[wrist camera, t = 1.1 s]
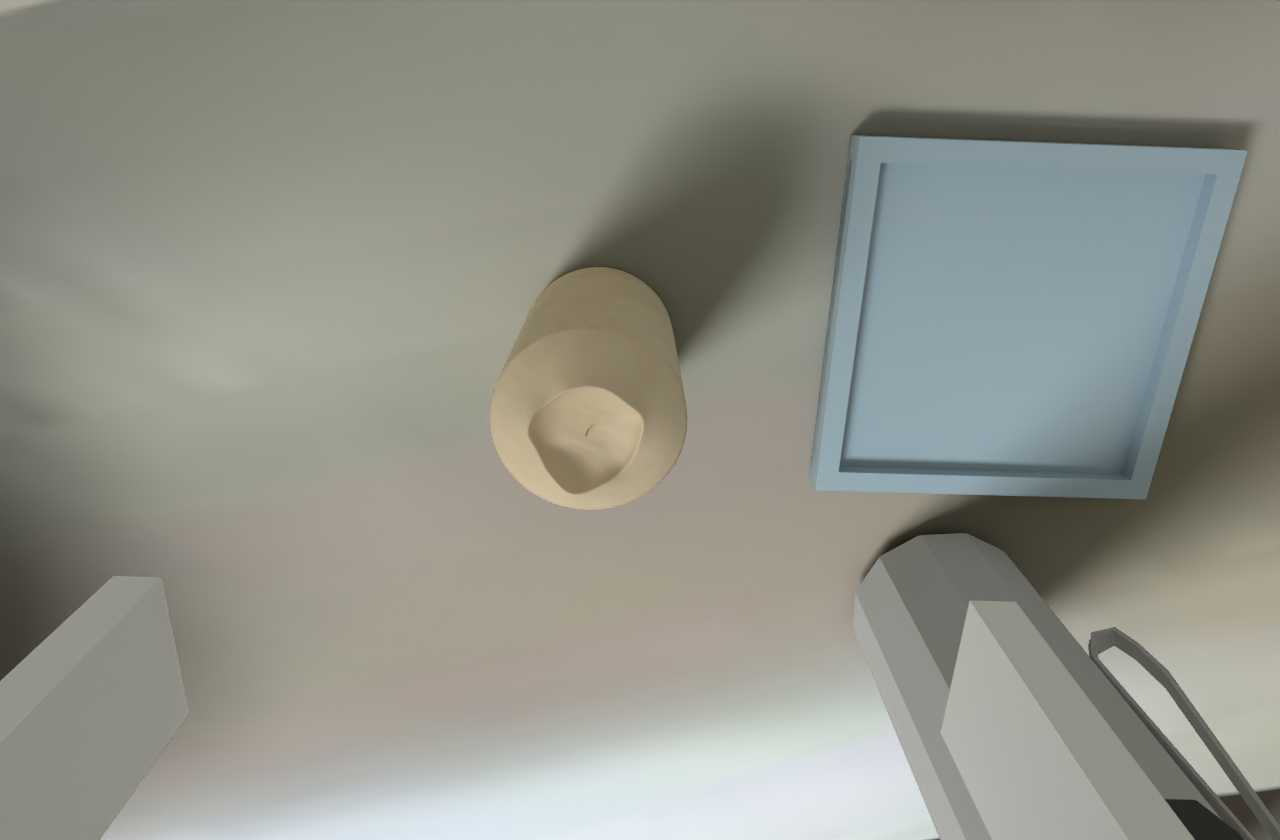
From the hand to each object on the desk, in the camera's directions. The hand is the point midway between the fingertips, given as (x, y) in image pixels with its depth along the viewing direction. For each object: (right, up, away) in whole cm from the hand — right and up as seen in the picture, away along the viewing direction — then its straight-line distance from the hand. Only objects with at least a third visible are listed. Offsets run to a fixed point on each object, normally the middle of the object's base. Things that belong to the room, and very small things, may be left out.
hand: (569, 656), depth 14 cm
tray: (+15, +7, +17) cm, 24 cm away
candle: (0, +7, +17) cm, 19 cm away
